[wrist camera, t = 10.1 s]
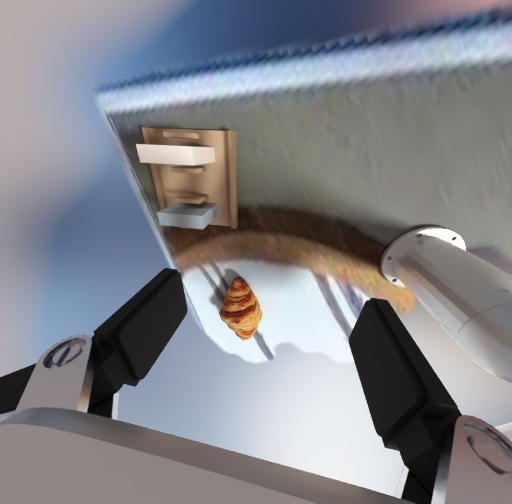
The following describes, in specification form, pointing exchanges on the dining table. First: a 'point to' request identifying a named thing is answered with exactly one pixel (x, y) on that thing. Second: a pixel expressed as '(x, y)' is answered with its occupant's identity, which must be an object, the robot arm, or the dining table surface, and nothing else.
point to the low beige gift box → (175, 154)
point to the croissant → (241, 309)
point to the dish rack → (196, 180)
